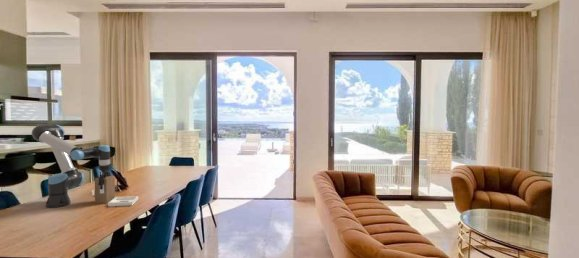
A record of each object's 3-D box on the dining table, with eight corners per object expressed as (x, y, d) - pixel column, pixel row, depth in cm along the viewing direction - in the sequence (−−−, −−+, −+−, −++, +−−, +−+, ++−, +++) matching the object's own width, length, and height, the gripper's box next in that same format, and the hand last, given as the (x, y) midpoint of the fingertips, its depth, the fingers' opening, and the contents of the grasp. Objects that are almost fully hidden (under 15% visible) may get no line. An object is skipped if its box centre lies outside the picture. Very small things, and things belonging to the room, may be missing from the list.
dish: (107, 206, 232) (107, 202, 232) (115, 200, 249) (115, 196, 248) (132, 205, 236) (132, 202, 235) (138, 199, 252) (138, 196, 252)
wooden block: (115, 200, 249) (114, 176, 248) (106, 203, 239) (106, 178, 238) (103, 199, 250) (103, 175, 249) (94, 203, 240) (94, 178, 239)
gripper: (103, 167, 232) (104, 194, 233) (115, 162, 256) (115, 187, 257) (92, 167, 230) (93, 195, 231) (105, 162, 255) (106, 187, 256)
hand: (105, 191), depth 244 cm, fingers open, 13 cm apart
